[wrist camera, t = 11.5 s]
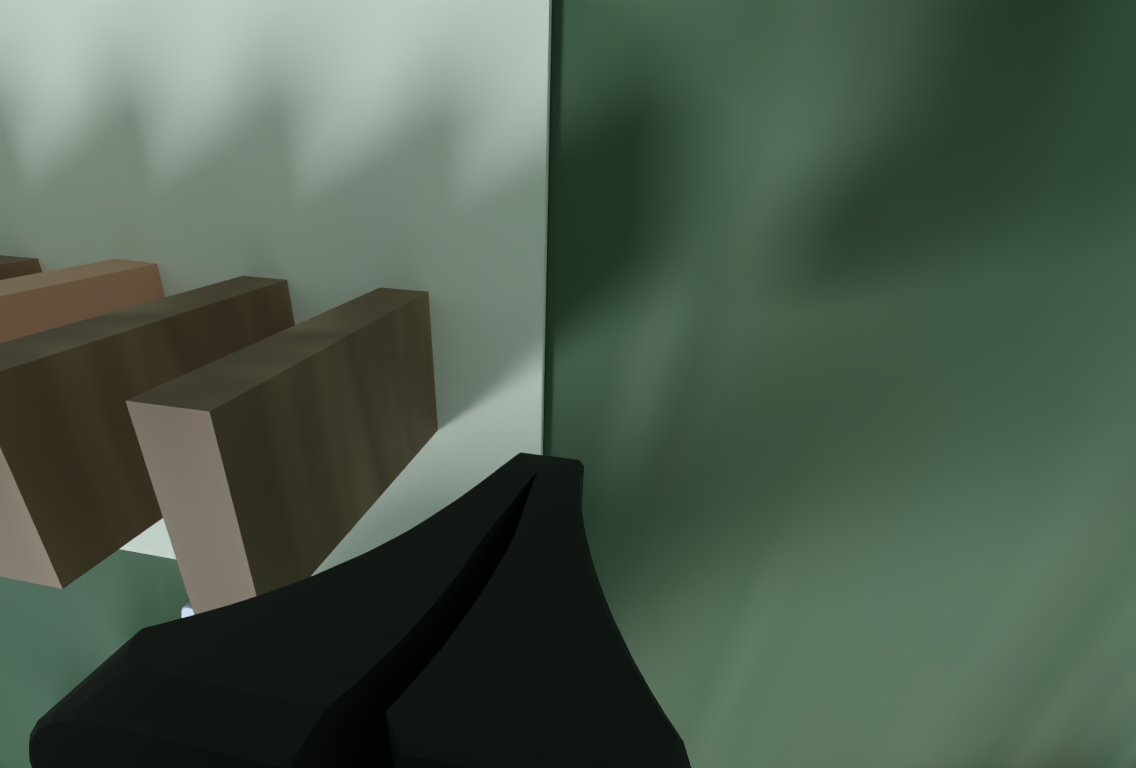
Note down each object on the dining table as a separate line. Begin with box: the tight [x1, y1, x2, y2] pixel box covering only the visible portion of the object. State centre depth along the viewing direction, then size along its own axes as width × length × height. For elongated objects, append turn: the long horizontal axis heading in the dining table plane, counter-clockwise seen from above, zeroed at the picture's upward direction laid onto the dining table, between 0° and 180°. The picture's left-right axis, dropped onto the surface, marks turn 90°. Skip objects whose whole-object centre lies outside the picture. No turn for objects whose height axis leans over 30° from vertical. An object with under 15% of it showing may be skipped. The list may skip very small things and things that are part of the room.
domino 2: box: [0, 276, 295, 589], centre depth 14 cm, size 2×5×8 cm, turn 178°
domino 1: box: [0, 259, 165, 343], centre depth 15 cm, size 2×5×8 cm, turn 176°
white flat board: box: [0, 0, 552, 576], centre depth 19 cm, size 28×21×1 cm
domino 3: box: [126, 287, 438, 615], centre depth 14 cm, size 2×5×8 cm, turn 177°
